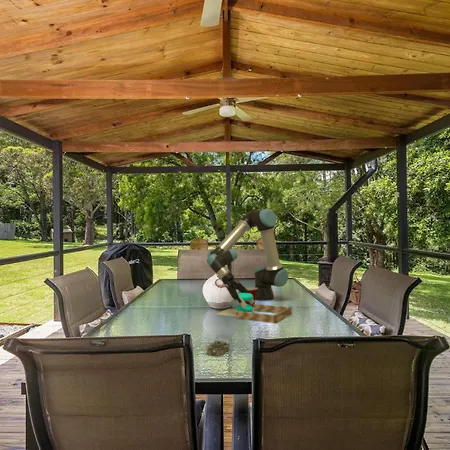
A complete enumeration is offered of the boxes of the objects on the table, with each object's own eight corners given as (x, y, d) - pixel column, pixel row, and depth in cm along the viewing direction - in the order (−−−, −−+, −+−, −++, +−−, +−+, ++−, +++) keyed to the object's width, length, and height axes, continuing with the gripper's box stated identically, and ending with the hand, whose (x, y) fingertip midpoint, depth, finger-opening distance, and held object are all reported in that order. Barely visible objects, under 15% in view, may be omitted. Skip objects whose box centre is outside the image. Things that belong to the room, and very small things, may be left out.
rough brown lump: (221, 357, 155) (220, 347, 155) (204, 355, 159) (204, 345, 159) (231, 349, 165) (231, 340, 165) (215, 347, 168) (215, 338, 168)
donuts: (234, 292, 233) (250, 292, 234) (234, 309, 233) (250, 308, 234) (238, 295, 223) (254, 295, 224) (237, 313, 223) (254, 312, 225)
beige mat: (215, 314, 231) (215, 314, 231) (228, 309, 245) (228, 308, 245) (236, 317, 224) (236, 316, 224) (248, 311, 238) (248, 310, 238)
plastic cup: (247, 304, 260) (246, 286, 260) (261, 306, 254) (260, 287, 254) (238, 307, 251) (237, 288, 251) (252, 309, 245) (252, 289, 245)
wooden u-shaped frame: (236, 318, 219) (236, 311, 219) (254, 310, 240) (254, 304, 240) (276, 323, 208) (276, 315, 208) (291, 314, 229) (291, 307, 229)
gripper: (230, 277, 246) (253, 305, 238) (212, 282, 226) (236, 312, 219) (238, 269, 243) (261, 297, 236) (220, 274, 223) (244, 304, 216)
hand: (249, 304), depth 227 cm, fingers closed on donuts, 10 cm apart
